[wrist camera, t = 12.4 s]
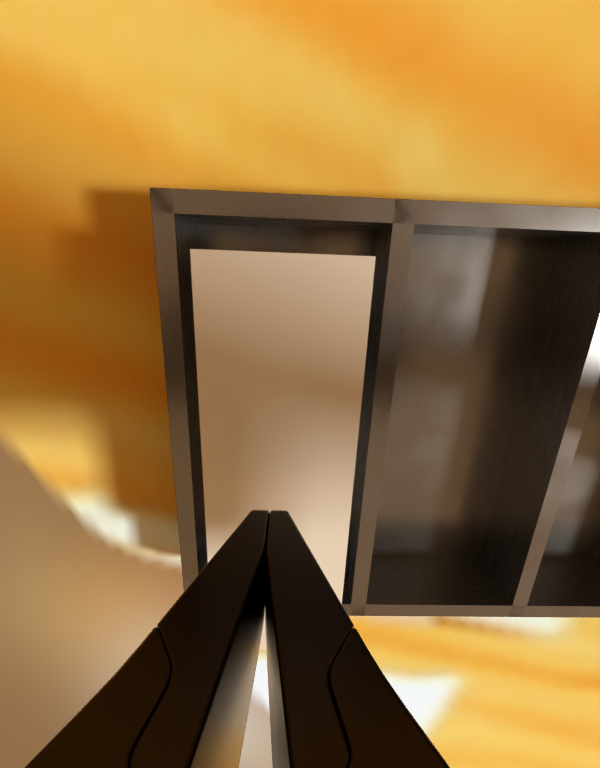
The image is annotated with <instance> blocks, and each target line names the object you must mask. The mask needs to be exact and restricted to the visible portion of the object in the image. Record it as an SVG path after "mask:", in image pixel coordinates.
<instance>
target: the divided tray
mask: <svg viewBox="0 0 600 768" xmlns="http://www.w3.org/2000/svg"><path fill="white" fill-rule="evenodd" d="M150 199H151V211H152V223H153V234H154V246H155V258H156V269H157V281H158V293H159V305H160V316H161V328H162V340H163V352H164V363H165V375H166V387H167V398H168V410H169V422H170V434H171V445H172V457H173V469H174V481H175V492H176V504H177V516H178V527H179V539H180V551H181V563H182V574H183V586H184V591H185V590H186V589H187V588H188V587H189V585H190V584H191V583H192V582H193V581H194V579H195V578H196V577H197V576H198V574H199V573H200V572H201V571H202V570H203V568H204V567H205V566H206V565H207V564H208V558H207V540H206V523H205V505H204V487H203V470H202V452H201V434H200V417H199V399H198V382H197V364H196V346H195V329H194V311H193V293H192V276H191V258H190V249H205V250H230V251H255V252H280V253H305V254H329V255H354V256H376V259H375V269H374V279H373V290H372V300H371V310H370V320H369V330H368V341H367V351H366V361H365V371H364V382H363V392H362V402H361V412H360V423H359V433H358V443H357V453H356V463H355V474H354V484H353V494H352V504H351V515H350V525H349V535H348V545H347V555H346V566H345V576H344V586H343V596H342V606H343V608H344V609H345V611H346V613H347V615H350V616H478V617H600V208H581V207H559V206H537V205H516V204H494V203H473V202H451V201H429V200H408V199H386V198H364V197H343V196H321V195H300V194H278V193H256V192H235V191H213V190H191V189H170V188H150Z"/></svg>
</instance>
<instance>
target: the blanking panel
mask: <svg viewBox="0 0 600 768" xmlns="http://www.w3.org/2000/svg"><path fill="white" fill-rule="evenodd" d="M190 258H191V276H192V293H193V311H194V329H195V346H196V364H197V382H198V399H199V417H200V434H201V452H202V470H203V487H204V505H205V523H206V540H207V558H208V562H209V561H210V560H211V559H212V557H213V556H214V555H215V554H216V553H217V551H218V550H219V549H220V548H221V547H222V545H223V544H224V543H225V542H226V540H227V539H228V538H229V537H230V536H231V534H232V533H233V532H234V531H235V530H236V528H237V527H238V526H239V525H240V524H241V522H242V521H243V520H244V519H245V517H246V516H247V515H248V514H249V513H250V511H252V510H268V511H269V514H270V511H272V510H286V511H288V512H289V514H290V516H291V517H292V519H293V521H294V523H295V524H296V526H297V528H298V530H299V531H300V533H301V535H302V537H303V538H304V540H305V542H306V543H307V545H308V547H309V549H310V550H311V552H312V554H313V556H314V557H315V559H316V561H317V563H318V564H319V566H320V568H321V569H322V571H323V573H324V575H325V576H326V578H327V580H328V582H329V583H330V585H331V587H332V589H333V590H334V592H335V594H336V595H337V597H338V599H339V601H340V602H341V604H342V596H343V586H344V576H345V566H346V555H347V545H348V535H349V525H350V515H351V504H352V494H353V484H354V474H355V463H356V453H357V443H358V433H359V423H360V412H361V402H362V392H363V382H364V371H365V361H366V351H367V341H368V330H369V320H370V310H371V300H372V290H373V279H374V269H375V259H376V256H354V255H329V254H305V253H280V252H255V251H230V250H205V249H190ZM259 650H267V648H266V627H265V616H264V623H263V630H262V636H261V642H260V647H259Z"/></svg>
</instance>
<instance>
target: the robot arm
mask: <svg viewBox="0 0 600 768" xmlns="http://www.w3.org/2000/svg"><path fill="white" fill-rule="evenodd" d="M264 616H265V627H266V648H267V667H268V686H269V705H270V724H271V744H272V761H273V768H450V767H449V765H448V764H447V763H446V761H445V760H444V759H443V757H442V756H441V755H440V753H439V752H438V750H437V749H436V748H435V746H434V745H433V744H432V742H431V741H430V739H429V738H428V737H427V735H426V734H425V733H424V731H423V730H422V728H421V727H420V726H419V724H418V723H417V722H416V720H415V719H414V717H413V716H412V715H411V713H410V712H409V711H408V709H407V708H406V706H405V705H404V704H403V702H402V701H401V699H400V698H399V696H398V695H397V693H396V692H395V691H394V689H393V688H392V686H391V685H390V683H389V682H388V681H387V679H386V678H385V676H384V675H383V673H382V671H381V670H380V668H379V667H378V665H377V663H376V662H375V660H374V658H373V657H372V655H371V654H370V652H369V650H368V649H367V647H366V645H365V644H364V642H363V640H362V638H361V637H360V635H359V633H358V631H357V630H356V629H355V628H354V625H353V623H352V621H351V620H350V618H349V616H348V615H347V613H346V611H345V609H344V608H343V606H342V604H341V602H340V601H339V599H338V597H337V595H336V594H335V592H334V590H333V589H332V587H331V585H330V583H329V582H328V580H327V578H326V576H325V575H324V573H323V571H322V569H321V568H320V566H319V564H318V563H317V561H316V559H315V557H314V556H313V554H312V552H311V550H310V549H309V547H308V545H307V543H306V542H305V540H304V538H303V537H302V535H301V533H300V531H299V530H298V528H297V526H296V524H295V523H294V521H293V519H292V517H291V516H290V514H289V512H288V511H286V510H272V511H270V514H269V511H268V510H252V511H250V513H249V514H248V515H247V516H246V517H245V519H244V520H243V521H242V522H241V524H240V525H239V526H238V527H237V528H236V530H235V531H234V532H233V533H232V534H231V536H230V537H229V538H228V539H227V540H226V542H225V543H224V544H223V545H222V547H221V548H220V549H219V550H218V551H217V553H216V554H215V555H214V556H213V557H212V559H211V560H210V561H209V562H208V564H207V565H206V566H205V567H204V568H203V570H202V571H201V572H200V573H199V574H198V576H197V577H196V578H195V579H194V581H193V582H192V583H191V584H190V585H189V587H188V588H187V589H186V590H185V591H184V593H183V594H182V595H181V596H180V598H179V599H178V600H177V601H176V602H175V604H174V605H173V606H172V607H171V608H170V610H169V611H168V612H167V613H166V614H165V616H164V617H163V618H162V620H161V621H160V622H159V623H158V625H157V627H155V628H154V629H153V630H152V631H151V632H150V634H149V635H148V636H147V637H146V638H145V640H144V641H143V642H142V643H141V645H140V646H139V647H138V648H137V649H136V650H135V652H134V653H133V654H132V655H131V656H130V657H129V659H128V660H127V661H126V662H125V663H124V664H123V665H122V667H121V668H120V669H119V670H118V671H117V672H116V673H115V675H114V676H113V677H112V678H111V679H110V680H109V681H108V682H107V683H106V684H105V685H104V686H103V687H102V688H101V689H100V691H99V692H98V693H97V694H96V695H95V696H94V697H93V698H92V699H91V700H90V701H89V702H88V703H87V704H86V705H85V706H84V708H82V709H81V711H80V712H79V713H78V714H77V715H76V716H75V717H74V718H73V719H72V720H71V721H70V722H69V723H68V724H67V725H66V726H65V727H64V728H63V729H62V730H61V731H60V732H59V733H58V734H57V735H56V736H55V737H54V738H53V739H52V740H51V741H50V742H49V743H48V744H47V745H46V746H45V747H44V748H43V749H42V750H41V751H40V752H39V753H38V754H37V755H36V756H35V758H34V759H32V760H31V761H30V763H29V764H28V765H27V766H26V767H25V768H238V767H239V762H240V756H241V750H242V745H243V739H244V733H245V727H246V722H247V716H248V710H249V705H250V699H251V693H252V687H253V682H254V676H255V670H256V664H257V659H258V653H259V647H260V642H261V636H262V630H263V623H264Z"/></svg>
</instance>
